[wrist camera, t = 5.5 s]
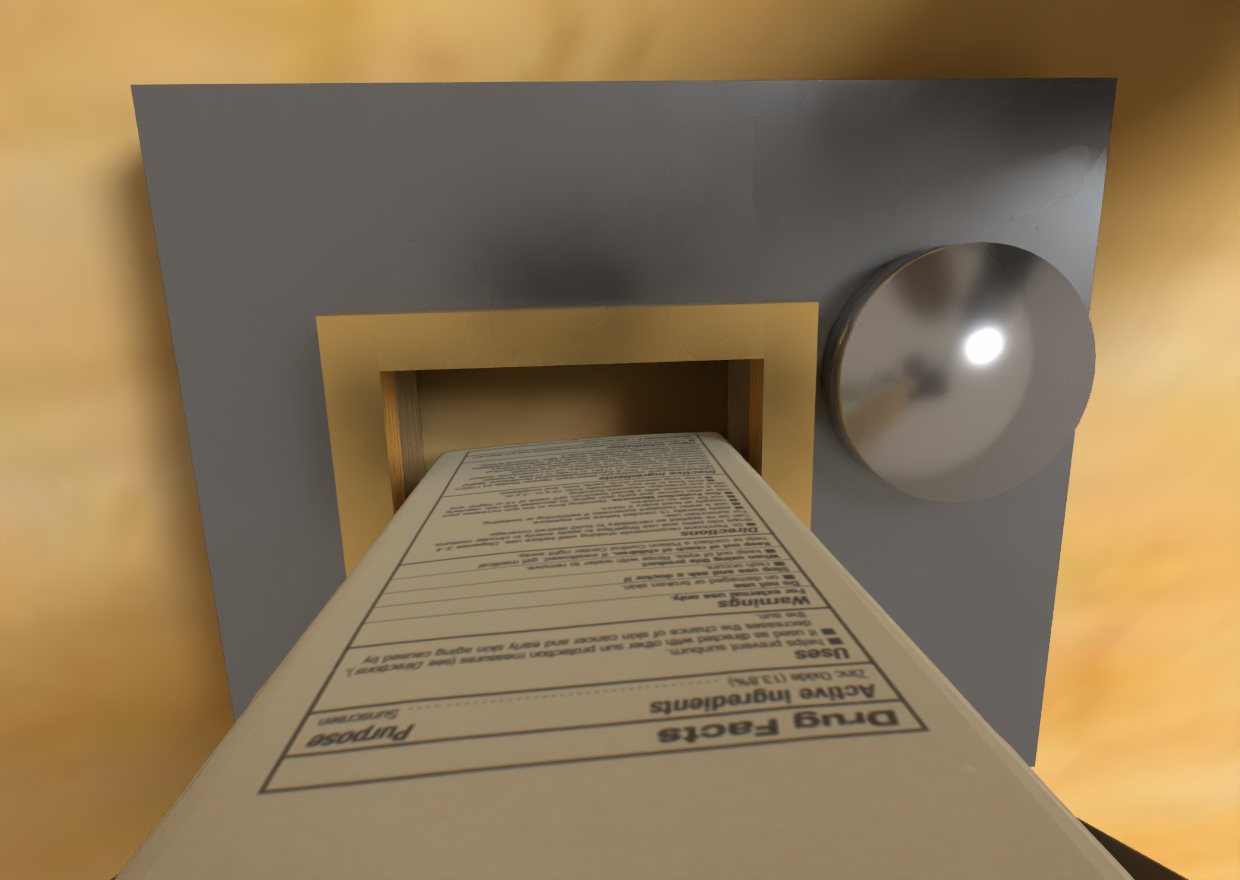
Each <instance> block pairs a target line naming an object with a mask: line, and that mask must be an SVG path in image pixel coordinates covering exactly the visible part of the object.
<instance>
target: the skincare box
mask: <svg viewBox="0 0 1240 880" xmlns="http://www.w3.org/2000/svg"><path fill="white" fill-rule="evenodd" d="M115 880H1134V879H1133V878H1132V876H1131V875H1130V874H1129V873H1128V872H1127V871H1126V870H1125V869H1124V868H1123V867H1122V866H1121V865H1120V863H1119V862H1118V861H1117V860H1116V859H1115V858H1114V857H1113V856H1112V855H1111V854H1110V853H1109V852H1108V851H1107V850H1106V849H1105V848H1104V847H1103V845H1102V844H1101V843H1100V842H1099V841H1098V840H1097V839H1096V838H1095V837H1094V836H1093V835H1092V834H1091V833H1090V832H1089V831H1088V830H1087V828H1086V827H1085V826H1084V825H1083V824H1082V823H1081V822H1080V821H1079V820H1078V819H1077V818H1076V817H1075V816H1074V815H1073V814H1072V813H1071V812H1070V810H1069V809H1068V808H1067V807H1066V806H1065V805H1064V804H1063V803H1062V802H1061V801H1060V800H1059V799H1058V798H1057V797H1056V796H1055V795H1054V793H1053V792H1052V791H1051V790H1050V789H1049V788H1048V787H1047V786H1046V785H1045V783H1044V782H1043V781H1042V780H1041V779H1040V778H1039V777H1038V776H1037V775H1036V773H1035V772H1034V771H1033V770H1032V769H1031V768H1030V767H1029V766H1028V765H1027V763H1026V762H1025V761H1024V760H1023V759H1022V758H1021V757H1020V756H1019V755H1018V753H1017V752H1016V751H1015V750H1014V749H1013V748H1012V747H1011V746H1010V745H1009V744H1008V743H1007V742H1006V741H1005V740H1004V739H1003V738H1002V737H1001V736H999V735H998V734H997V733H996V732H995V731H994V730H993V729H992V727H991V726H990V725H989V724H988V723H987V722H986V721H985V720H984V719H983V718H982V716H981V715H980V714H979V713H978V712H977V711H976V710H975V709H974V708H973V706H972V705H971V704H970V703H969V702H968V701H967V700H966V699H965V698H964V697H963V695H962V694H961V693H960V692H959V691H958V690H957V689H956V688H955V687H954V686H953V684H952V683H951V682H950V681H949V680H948V679H947V678H946V677H945V676H944V675H943V673H942V672H941V671H940V670H939V669H938V668H937V667H936V666H935V665H934V664H933V663H932V662H931V660H930V659H929V658H928V657H927V656H926V655H925V654H924V653H923V652H922V651H921V650H920V649H919V648H918V646H917V645H916V644H915V643H914V642H913V641H912V640H911V639H910V638H909V637H908V636H907V635H906V634H905V632H904V631H903V630H902V629H901V628H900V627H899V626H898V625H897V624H896V623H895V622H894V621H893V619H892V618H891V617H890V616H889V615H888V614H887V613H886V612H885V611H884V610H883V609H882V607H881V606H880V605H879V604H878V603H877V602H876V601H875V600H874V599H873V598H872V597H871V595H870V594H869V593H868V592H867V591H866V590H865V589H864V588H863V587H862V586H861V585H860V584H859V583H858V581H857V580H856V579H855V578H854V577H853V576H852V575H851V574H850V573H849V572H848V571H847V570H846V569H845V568H844V567H843V566H842V564H841V563H840V562H839V561H838V560H837V559H836V558H835V557H834V556H833V555H832V554H831V552H830V551H829V550H828V549H827V548H826V547H825V546H824V545H823V544H822V543H821V542H820V540H819V539H818V538H817V537H816V536H815V535H814V534H813V533H812V531H811V530H810V529H809V528H808V527H807V526H806V525H805V524H804V523H803V522H802V521H801V520H800V519H799V518H798V517H797V516H796V515H795V514H794V513H793V511H792V510H791V509H790V508H789V507H788V506H787V505H786V504H785V503H784V502H783V501H782V500H781V498H780V497H779V496H778V495H777V494H776V493H775V492H774V491H773V490H772V489H771V487H770V486H769V485H768V484H767V483H766V482H765V481H764V480H763V479H762V477H761V476H760V475H759V474H758V473H757V472H756V471H755V470H754V469H753V468H752V467H751V466H750V465H749V464H748V463H747V462H746V461H745V460H744V458H743V457H742V456H741V455H740V454H739V453H738V452H737V451H736V450H735V449H734V448H733V447H732V445H731V444H730V443H729V442H728V441H727V440H726V439H725V438H724V436H722V435H721V434H720V433H717V432H690V433H664V434H646V435H628V436H613V437H599V438H586V439H574V440H561V441H548V442H537V443H526V444H516V445H506V446H496V447H487V448H478V449H470V450H460V451H450V452H446V453H443V454H441V455H440V456H439V458H438V459H437V460H436V462H435V463H434V464H433V465H432V467H431V468H430V469H429V470H428V472H427V473H426V475H425V476H424V477H423V478H422V479H421V481H420V482H419V484H418V485H417V486H416V488H415V489H414V490H413V491H412V493H411V494H410V495H409V497H408V498H407V499H406V501H405V502H404V503H403V505H402V506H401V507H400V509H399V510H398V511H397V512H396V514H395V515H394V516H393V518H392V519H391V520H390V521H389V523H388V524H387V526H386V527H385V528H384V530H383V531H382V532H381V533H380V535H379V536H378V537H377V538H376V540H375V541H374V542H373V544H372V545H371V546H370V547H369V549H368V550H367V551H366V553H365V554H364V555H363V557H362V558H361V559H360V561H359V562H358V564H357V565H356V566H355V568H354V569H353V570H352V571H351V573H350V574H349V575H348V577H347V578H346V579H345V581H344V582H343V583H342V585H341V586H340V587H339V588H338V590H337V591H336V592H335V594H334V595H333V596H332V597H331V599H330V600H329V601H328V602H327V604H326V605H325V606H324V607H323V609H322V610H321V611H320V613H319V614H318V615H317V617H316V618H315V619H314V621H313V622H312V623H311V624H310V626H309V627H308V628H307V629H306V631H305V632H304V633H303V635H302V636H301V637H300V639H299V640H298V641H297V643H296V644H295V645H294V647H293V648H292V649H291V651H290V652H289V653H288V655H287V656H286V657H285V658H284V660H283V661H282V662H281V664H280V665H279V666H278V668H277V669H276V670H275V671H274V673H273V674H272V675H271V676H270V678H269V679H268V680H267V681H266V683H265V684H264V685H263V686H262V687H261V689H260V690H259V691H258V692H257V693H256V695H255V697H254V698H253V700H252V701H251V703H250V704H249V706H248V708H247V709H246V710H245V711H244V713H243V714H242V715H241V716H240V718H239V719H238V720H237V721H236V723H235V724H234V725H233V726H232V728H231V729H230V730H229V731H228V733H227V734H226V735H225V737H224V738H223V739H222V740H221V742H220V743H219V744H218V746H217V747H216V748H215V749H214V751H213V752H212V753H211V755H210V756H209V757H208V759H207V760H206V761H205V763H204V764H203V765H202V767H201V768H200V769H199V771H198V772H197V773H196V775H195V776H194V777H193V779H192V780H191V781H190V783H189V784H188V785H187V787H186V788H185V789H184V791H183V792H182V793H181V794H180V796H179V797H178V798H177V800H176V801H175V802H174V803H173V805H172V806H171V807H170V808H169V810H168V811H167V812H166V813H165V815H164V816H163V817H162V819H161V820H160V821H159V822H158V824H157V825H156V826H155V827H154V829H153V830H152V831H151V833H150V834H149V835H148V837H147V838H146V839H145V841H144V842H143V843H142V845H141V846H140V847H139V848H138V850H137V851H136V852H135V854H134V855H133V856H132V858H131V859H130V860H129V862H128V863H127V864H126V866H125V867H124V868H123V870H122V871H121V872H120V873H119V875H118V876H117V877H116V879H115Z"/></svg>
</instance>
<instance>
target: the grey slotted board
mask: <svg viewBox="0 0 1240 880" xmlns="http://www.w3.org/2000/svg"><path fill="white" fill-rule="evenodd" d="M1116 83H1117V78H1022V79H880V80H737V81H595V82H453V83H311V84H169V85H131V90H132V96H133V102H134V109H135V115H136V121H137V127H138V133H139V139H140V145H141V151H142V158H143V164H144V170H145V176H146V182H147V188H148V194H149V200H150V206H151V213H152V219H153V225H154V231H155V237H156V243H157V249H158V255H159V262H160V268H161V274H162V280H163V286H164V292H165V298H166V304H167V311H168V317H169V323H170V329H171V335H172V341H173V347H174V353H175V360H176V366H177V372H178V378H179V384H180V390H181V396H182V402H183V409H184V415H185V421H186V427H187V433H188V439H189V445H190V451H191V458H192V464H193V470H194V476H195V482H196V488H197V494H198V500H199V507H200V513H201V519H202V525H203V531H204V537H205V543H206V549H207V556H208V562H209V568H210V574H211V580H212V586H213V592H214V598H215V605H216V611H217V617H218V623H219V629H220V635H221V641H222V647H223V654H224V660H225V666H226V672H227V678H228V684H229V690H230V696H231V702H232V709H233V715H234V721H235V723H236V721H237V720H238V719H239V718H240V716H241V715H242V714H243V713H244V711H245V710H246V709H247V708H248V706H249V704H250V703H251V701H252V700H253V698H254V697H255V695H256V693H257V692H258V691H259V690H260V689H261V687H262V686H263V685H264V684H265V683H266V681H267V680H268V679H269V678H270V676H271V675H272V674H273V673H274V671H275V670H276V669H277V668H278V666H279V665H280V664H281V662H282V661H283V660H284V658H285V657H286V656H287V655H288V653H289V652H290V651H291V649H292V648H293V647H294V645H295V644H296V643H297V641H298V640H299V639H300V637H301V636H302V635H303V633H304V632H305V631H306V629H307V628H308V627H309V626H310V624H311V623H312V622H313V621H314V619H315V618H316V617H317V615H318V614H319V613H320V611H321V610H322V609H323V607H324V606H325V605H326V604H327V602H328V601H329V600H330V599H331V597H332V596H333V595H334V594H335V592H336V591H337V590H338V588H339V587H340V586H341V585H342V583H343V582H344V581H345V579H346V578H347V577H348V575H349V574H350V573H351V571H352V570H353V569H354V568H355V566H356V565H357V564H358V562H359V561H360V559H361V558H362V557H363V555H364V554H365V553H366V551H367V550H368V549H369V547H370V546H371V545H372V544H373V542H374V541H375V540H376V538H377V537H378V536H379V535H380V533H381V532H382V531H383V530H384V528H385V527H386V526H387V524H388V523H389V521H390V520H391V519H392V518H393V516H394V515H395V514H396V512H397V511H398V510H399V509H400V507H401V506H402V505H403V503H404V502H405V501H406V499H407V498H408V497H409V495H410V494H411V493H412V491H413V490H414V489H415V488H416V486H417V485H418V484H419V482H420V481H421V479H422V478H423V477H424V476H425V467H424V456H423V445H422V434H421V422H420V411H419V400H418V388H417V377H416V370H433V369H463V368H493V367H523V366H553V365H583V364H613V363H643V362H673V361H703V360H728V429H727V441H728V442H729V443H730V444H731V445H732V447H733V448H734V449H735V450H736V451H737V452H738V453H739V454H740V455H741V456H742V457H743V458H744V460H745V461H746V462H747V463H748V464H749V465H750V466H751V467H752V468H753V469H754V470H755V471H756V472H757V473H758V474H759V475H760V476H761V477H762V479H763V480H764V481H765V482H766V483H767V484H768V485H769V486H770V487H771V489H772V490H773V491H774V492H775V493H776V494H777V495H778V496H779V497H780V498H781V500H782V501H783V502H784V503H785V504H786V505H787V506H788V507H789V508H790V509H791V510H792V511H793V513H794V514H795V515H796V516H797V517H798V518H799V519H800V520H801V521H802V522H803V523H804V524H805V525H806V526H807V527H808V528H809V529H810V530H811V531H812V533H813V534H814V535H815V536H816V537H817V538H818V539H819V540H820V542H821V543H822V544H823V545H824V546H825V547H826V548H827V549H828V550H829V551H830V552H831V554H832V555H833V556H834V557H835V558H836V559H837V560H838V561H839V562H840V563H841V564H842V566H843V567H844V568H845V569H846V570H847V571H848V572H849V573H850V574H851V575H852V576H853V577H854V578H855V579H856V580H857V581H858V583H859V584H860V585H861V586H862V587H863V588H864V589H865V590H866V591H867V592H868V593H869V594H870V595H871V597H872V598H873V599H874V600H875V601H876V602H877V603H878V604H879V605H880V606H881V607H882V609H883V610H884V611H885V612H886V613H887V614H888V615H889V616H890V617H891V618H892V619H893V621H894V622H895V623H896V624H897V625H898V626H899V627H900V628H901V629H902V630H903V631H904V632H905V634H906V635H907V636H908V637H909V638H910V639H911V640H912V641H913V642H914V643H915V644H916V645H917V646H918V648H919V649H920V650H921V651H922V652H923V653H924V654H925V655H926V656H927V657H928V658H929V659H930V660H931V662H932V663H933V664H934V665H935V666H936V667H937V668H938V669H939V670H940V671H941V672H942V673H943V675H944V676H945V677H946V678H947V679H948V680H949V681H950V682H951V683H952V684H953V686H954V687H955V688H956V689H957V690H958V691H959V692H960V693H961V694H962V695H963V697H964V698H965V699H966V700H967V701H968V702H969V703H970V704H971V705H972V706H973V708H974V709H975V710H976V711H977V712H978V713H979V714H980V715H981V716H982V718H983V719H984V720H985V721H986V722H987V723H988V724H989V725H990V726H991V727H992V729H993V730H994V731H995V732H996V733H997V734H998V735H999V736H1001V737H1002V738H1003V739H1004V740H1005V741H1006V742H1007V743H1008V744H1009V745H1010V746H1011V747H1012V748H1013V749H1014V750H1015V751H1016V752H1017V753H1018V755H1019V756H1020V757H1021V758H1022V759H1023V760H1024V761H1025V762H1026V763H1027V765H1028V766H1029V767H1033V766H1035V760H1036V751H1037V743H1038V735H1039V726H1040V718H1041V710H1042V701H1043V693H1044V685H1045V676H1046V668H1047V660H1048V651H1049V643H1050V634H1051V626H1052V618H1053V609H1054V601H1055V593H1056V584H1057V576H1058V568H1059V559H1060V551H1061V543H1062V534H1063V526H1064V517H1065V509H1066V501H1067V492H1068V484H1069V476H1070V467H1071V459H1072V451H1073V442H1074V434H1075V429H1076V427H1077V425H1078V423H1079V422H1080V419H1081V417H1082V415H1083V413H1084V410H1085V408H1086V406H1087V402H1088V399H1089V396H1090V393H1091V389H1092V384H1093V379H1094V373H1095V342H1094V335H1093V330H1092V325H1091V322H1090V319H1089V309H1090V300H1091V292H1092V283H1093V275H1094V267H1095V258H1096V250H1097V242H1098V233H1099V225H1100V217H1101V208H1102V200H1103V192H1104V183H1105V175H1106V166H1107V158H1108V150H1109V141H1110V133H1111V125H1112V116H1113V108H1114V100H1115V91H1116Z"/></svg>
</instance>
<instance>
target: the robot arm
mask: <svg viewBox="0 0 1240 880" xmlns="http://www.w3.org/2000/svg"><path fill="white" fill-rule="evenodd" d="M1076 818H1077V817H1076ZM1077 819H1078V820H1079V821H1080V822H1081V823H1082V824H1083V825H1084V826H1085V827H1086V828H1087V830H1088V831H1089V832H1090V833H1091V834H1092V835H1093V836H1094V837H1095V838H1096V839H1097V840H1098V841H1099V842H1100V843H1101V844H1102V845H1103V847H1104V848H1105V849H1106V850H1107V851H1108V852H1109V853H1110V854H1111V855H1112V856H1113V857H1114V858H1115V859H1116V860H1117V861H1118V862H1119V863H1120V865H1121V866H1122V867H1123V868H1124V869H1125V870H1126V871H1127V872H1128V873H1129V874H1130V875H1131V876H1132V878H1133V879H1134V880H1188V879H1186V878H1185V877H1183V876H1181V875H1179V874H1177V873H1176V872H1174V871H1172V870H1170V869H1168V868H1167V867H1165V866H1163V865H1161V864H1159V863H1158V862H1156V861H1154V860H1152V859H1150V858H1149V857H1147V856H1145V855H1143V854H1141V853H1140V852H1138V851H1136V850H1134V849H1133V848H1131V847H1129V846H1127V845H1125V844H1124V843H1122V842H1120V841H1118V840H1116V839H1115V838H1113V837H1111V836H1109V835H1107V834H1106V833H1104V832H1102V831H1100V830H1098V829H1097V828H1095V827H1093V826H1091V825H1089V824H1088V823H1086V822H1084V821H1082V820H1081V819H1079V818H1077ZM118 875H119V874H118ZM118 875H116V876H115V877H113V878H112V879H111V880H115V879H116V877H117V876H118Z"/></svg>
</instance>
